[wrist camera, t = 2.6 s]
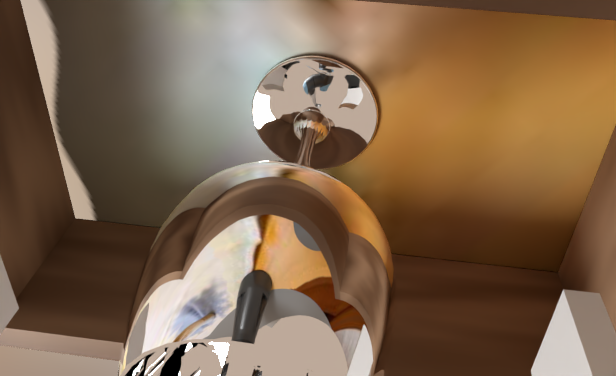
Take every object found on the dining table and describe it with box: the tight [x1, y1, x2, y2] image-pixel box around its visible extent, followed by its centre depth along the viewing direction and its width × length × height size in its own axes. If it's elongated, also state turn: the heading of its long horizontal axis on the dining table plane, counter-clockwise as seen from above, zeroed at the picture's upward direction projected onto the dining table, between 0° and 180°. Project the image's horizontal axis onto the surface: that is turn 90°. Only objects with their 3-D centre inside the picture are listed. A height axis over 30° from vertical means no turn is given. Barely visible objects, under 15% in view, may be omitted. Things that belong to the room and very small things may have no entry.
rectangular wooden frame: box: [0, 0, 616, 376], centre depth 18 cm, size 14×22×6 cm, turn 88°
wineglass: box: [118, 56, 397, 376], centre depth 16 cm, size 6×6×12 cm
